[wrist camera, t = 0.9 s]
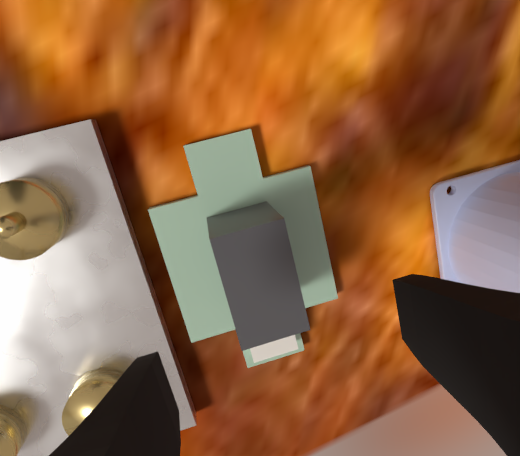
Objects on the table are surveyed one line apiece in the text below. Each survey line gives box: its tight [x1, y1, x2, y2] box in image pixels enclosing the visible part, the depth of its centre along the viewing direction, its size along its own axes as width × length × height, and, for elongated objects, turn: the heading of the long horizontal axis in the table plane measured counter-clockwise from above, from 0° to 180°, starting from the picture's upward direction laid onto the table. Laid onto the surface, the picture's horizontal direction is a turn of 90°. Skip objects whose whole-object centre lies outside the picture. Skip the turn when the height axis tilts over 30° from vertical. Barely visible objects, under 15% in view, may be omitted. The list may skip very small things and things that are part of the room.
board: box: [148, 129, 338, 368], centre depth 18 cm, size 8×12×5 cm, turn 14°
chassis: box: [0, 119, 196, 456], centre depth 17 cm, size 13×16×4 cm
